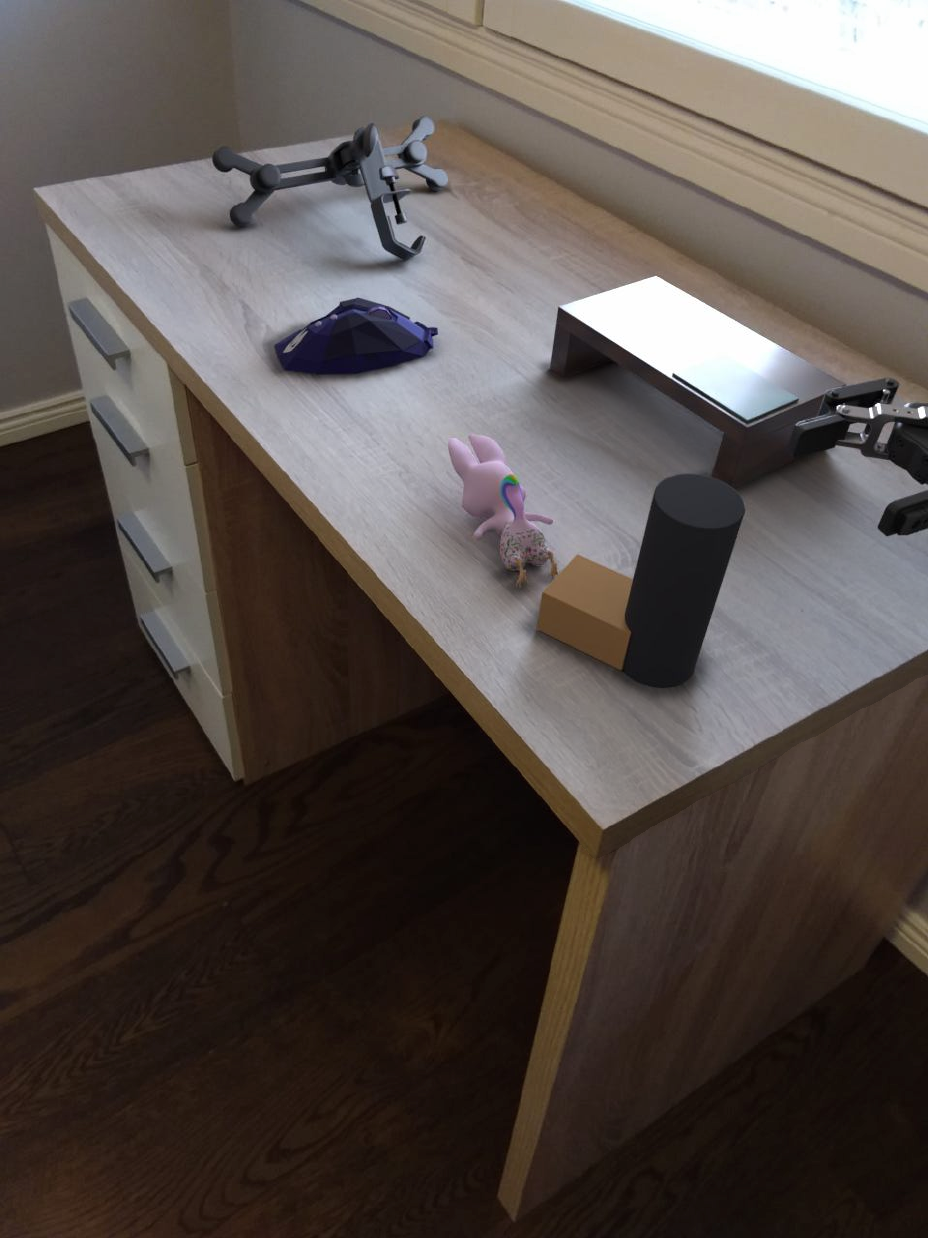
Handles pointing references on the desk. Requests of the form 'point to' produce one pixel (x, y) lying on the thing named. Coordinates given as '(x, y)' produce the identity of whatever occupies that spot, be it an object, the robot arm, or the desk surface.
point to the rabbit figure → (500, 504)
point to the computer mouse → (355, 340)
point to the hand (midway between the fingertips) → (837, 480)
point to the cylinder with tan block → (652, 586)
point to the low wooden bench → (698, 368)
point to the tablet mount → (347, 177)
